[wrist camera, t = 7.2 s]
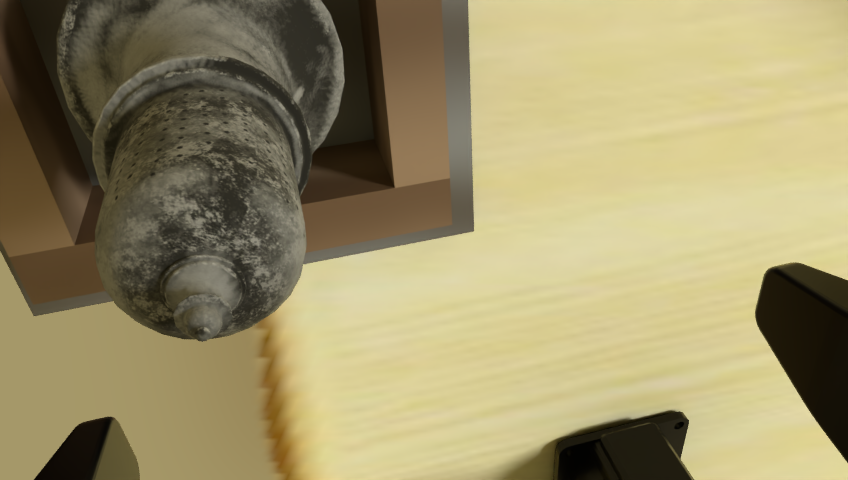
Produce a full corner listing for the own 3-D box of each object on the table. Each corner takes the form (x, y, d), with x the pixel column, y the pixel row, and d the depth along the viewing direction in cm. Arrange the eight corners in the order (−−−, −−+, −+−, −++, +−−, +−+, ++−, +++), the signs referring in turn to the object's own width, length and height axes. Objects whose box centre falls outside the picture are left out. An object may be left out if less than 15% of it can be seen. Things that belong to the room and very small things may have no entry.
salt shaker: (42, 61, 17) (-177, 437, 8) (150, -158, 15) (41, -26, 6) (254, 167, 20) (289, 533, 11) (367, -6, 18) (537, 250, 9)
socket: (468, 221, 24) (503, 284, 21) (38, 303, 22) (10, 386, 19) (449, -408, 15) (505, -451, 12) (-304, -378, 12) (-463, -423, 10)
